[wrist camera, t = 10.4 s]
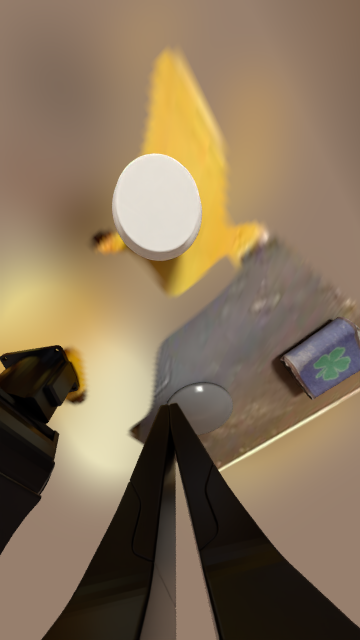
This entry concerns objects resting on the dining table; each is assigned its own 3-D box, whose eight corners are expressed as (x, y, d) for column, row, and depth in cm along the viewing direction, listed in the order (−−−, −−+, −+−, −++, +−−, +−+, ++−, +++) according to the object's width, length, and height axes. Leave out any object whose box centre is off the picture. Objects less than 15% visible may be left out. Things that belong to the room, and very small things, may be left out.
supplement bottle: (154, 265, 19) (153, 288, 10) (115, 217, 17) (69, 193, 8) (196, 229, 18) (236, 219, 9) (160, 174, 16) (166, 93, 7)
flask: (288, 366, 22) (369, 309, 21) (274, 353, 25) (344, 301, 24) (316, 404, 26) (387, 358, 24) (300, 389, 29) (364, 346, 27)
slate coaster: (170, 436, 30) (170, 440, 29) (160, 389, 25) (160, 392, 25) (231, 424, 30) (232, 428, 30) (231, 376, 26) (232, 379, 25)
